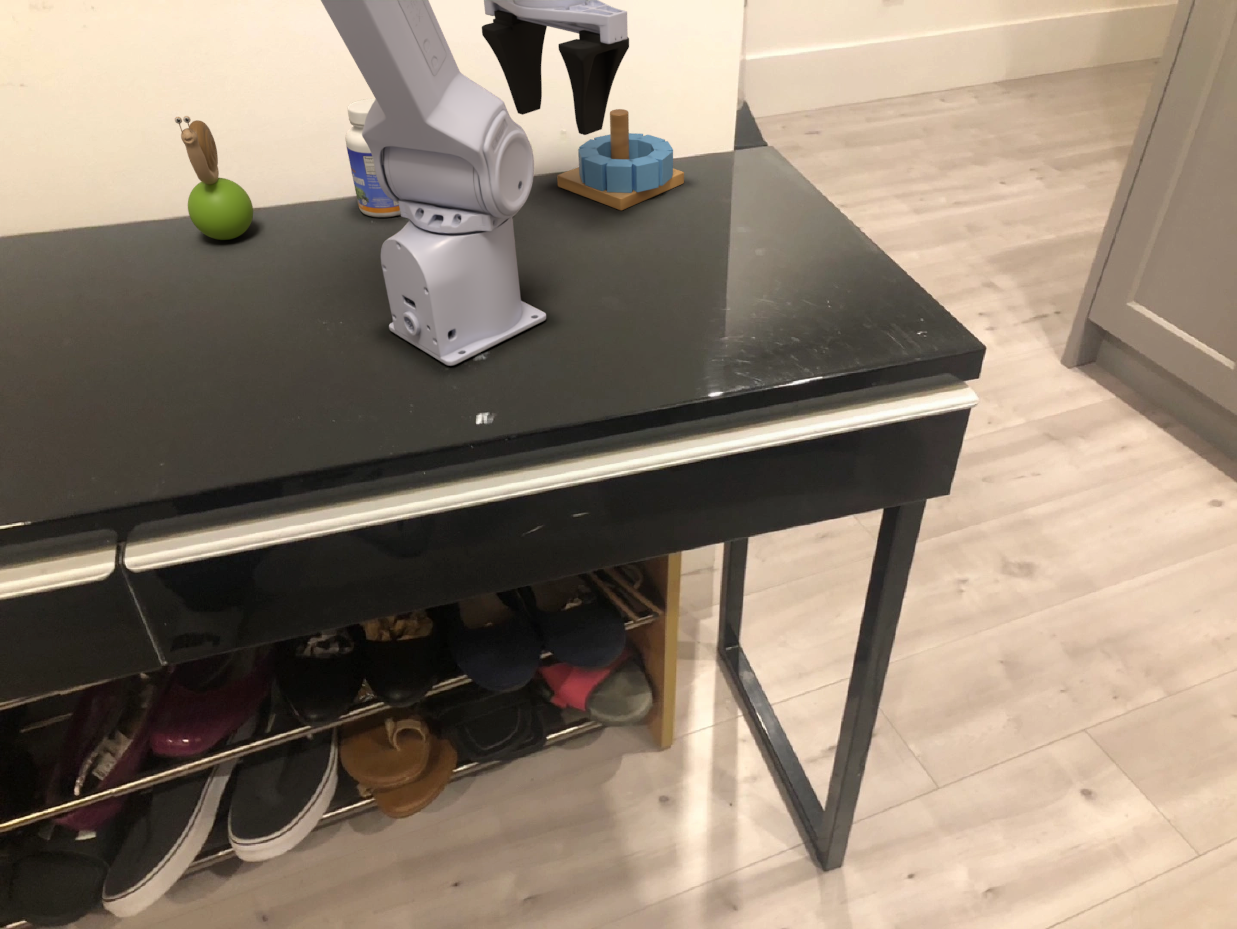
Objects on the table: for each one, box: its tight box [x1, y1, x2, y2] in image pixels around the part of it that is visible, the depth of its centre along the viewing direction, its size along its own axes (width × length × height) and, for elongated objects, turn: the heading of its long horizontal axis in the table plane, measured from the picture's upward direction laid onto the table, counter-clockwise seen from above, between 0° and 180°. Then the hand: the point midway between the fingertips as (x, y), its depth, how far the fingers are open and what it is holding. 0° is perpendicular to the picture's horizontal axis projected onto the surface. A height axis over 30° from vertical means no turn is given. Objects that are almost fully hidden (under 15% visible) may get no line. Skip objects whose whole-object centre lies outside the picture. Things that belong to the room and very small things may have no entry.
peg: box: [556, 108, 685, 211], centre depth 90 cm, size 9×9×7 cm
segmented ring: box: [577, 132, 674, 193], centre depth 90 cm, size 9×9×3 cm
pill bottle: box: [344, 98, 401, 218], centre depth 86 cm, size 5×5×10 cm
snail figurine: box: [174, 115, 254, 241], centre depth 80 cm, size 5×6×12 cm
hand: (559, 120), depth 76 cm, fingers open, 7 cm apart
